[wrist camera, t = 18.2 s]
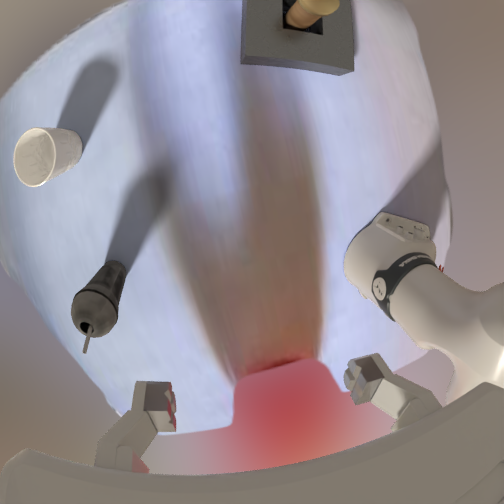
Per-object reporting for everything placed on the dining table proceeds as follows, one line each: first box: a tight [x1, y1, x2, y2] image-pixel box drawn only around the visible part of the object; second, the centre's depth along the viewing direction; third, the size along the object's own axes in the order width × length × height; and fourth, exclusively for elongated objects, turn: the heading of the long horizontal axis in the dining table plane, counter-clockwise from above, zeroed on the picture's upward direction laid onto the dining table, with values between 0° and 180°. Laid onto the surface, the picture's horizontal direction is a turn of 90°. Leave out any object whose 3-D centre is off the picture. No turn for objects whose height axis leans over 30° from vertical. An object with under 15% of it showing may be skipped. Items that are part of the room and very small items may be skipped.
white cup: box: [14, 127, 83, 187], centre depth 29 cm, size 8×8×10 cm
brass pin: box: [283, 0, 340, 32], centre depth 26 cm, size 5×5×12 cm
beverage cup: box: [71, 261, 126, 354], centre depth 35 cm, size 7×7×20 cm
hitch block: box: [241, 0, 354, 76], centre depth 29 cm, size 16×16×5 cm
